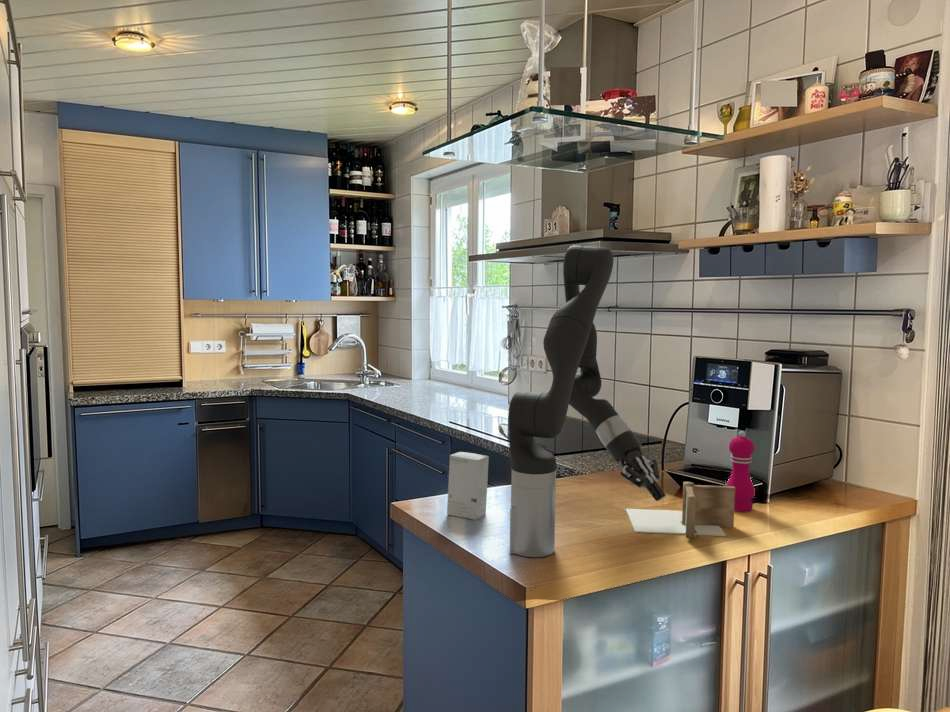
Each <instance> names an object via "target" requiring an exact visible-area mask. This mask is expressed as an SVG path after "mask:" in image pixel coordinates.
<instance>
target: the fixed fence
mask: <svg viewBox="0 0 950 712" xmlns="http://www.w3.org/2000/svg"><path fill="white" fill-rule="evenodd" d="M682 484H683V485H682V508H681V509H682V510H681V511H682V524H685V520H686V486H692V488H693V493H694V496H696V503H695V524H699V525H719V527H720V528H734V527H735V526H734V523H735V511H734V503H735V487H734V486H726V485H706V484H705V485H702V484H695V483H694V482H692V481H683V482H682ZM685 525H686V524H685Z"/></svg>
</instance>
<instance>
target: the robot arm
mask: <svg viewBox="0 0 950 712" xmlns="http://www.w3.org/2000/svg"><path fill="white" fill-rule="evenodd" d="M613 268H614V254H613V252H612V251H611V250H610V248H607V247H602V246H590V245H574V244H573V245H570V246H569V247H568V248H567V250H566V252H565V254H564V258H563V267H562V270H563V271H562V272H563V273H562V274H563V275H562V276H563V287H564V288H563V289H564V296H565V297H564V299H565V303H564V304H563V305H561V307H559V308H558V309H557V310H556V311H555V312H554V313H553V315H552V317H551V318H550V320H549V323H548V326H547V329H546V330H545V331H546V332H545V335H544V338H543V341H542V342H543V343H542V344H543V350H544V353H545V355H546V356H545V357H546V358H547V362H548V364H549V366H550V369H551V374H552V383H551V387H550V389H549V391H548V392H539V391H530V390H529V391H528V390H527V391H525V390H520V391H517V392H516V393H514V394H513V396H512V397H511V399H510V403H509V407H508V438H509V439H508V442H509V444H508V445H509V457H510V462H511V470H510V471H511V473H510V475H511V476H510V477H511V478H510V479H511V481H510V482H511V483H510V484H511V486H510V508H509V509H510V510H509V512H510V513H509V514H510V515H509V554H510V555H511V554H512V555H517V556H522V557H527V558H542V557H548V556H551V555H553V554H554V553H555V544H556V533H555V531H556V483H557V482H556V481H557V458H556V456H555V454H553V453H551V452H549V451H548V450H546V449H544V448H543V447H542V446H540V445H539V444H538V443H537V442H536V441H535V439H534V438H541V439H555V438H557V437H558V436H559V435H560V434H561V431H562V429H563V428H564V424H565V421H566V417H567V413H568V411H569V406H570V407H571V408H573V409H574V410H575V411H576V412H578V414H580V415H581V416H582V417H584V418H585V419H586V420H587V421H588V422H589V424H590V426H591V428H592V429H593V430H594V431H595V433H596V435H597V436H598V438H599V440H600V442H601V443H602V444H603V446H604V448H605V449H606V450H607V453H609V455H610V456H611V458H613V459H612V460H613V461H615V462H616V463H619V464H621V466H622V467H623V469H622V470H621V471H620V475H621V476H622V477H623V478H625V479H626V480H628V481H630V482H631V484H634V485H635V486H637V487H638V488H640V489H641V488H642V487H643V488H644V489H646V490H647V491H648V493H649V495H651V497H652V498H653V499H654V500H655V501H656V502H659V501H661V500H663V499H664V498H665V497H666V493H665V492H664V491H663V489H662V488H661V486H660V485H659V483H658V480H659V479H660V478H661V476H660V473H659V467H658V461H657V460H656V459H655V458H654V459H653V458H652V460H650V459H648V457H647V456H646V454H645V453H643V452H642V450H641V449H642V443H641V441H640V440H639V439H638V437H637V436H636V435H635V434H634V432H633V431H632V429H631V428H630V427H629V425H628V423H626V422H625V420H624V419H623V418H622V417H621V416H620V414H618V412H617V410H616V409H615V408H614V407H613V405H612V404H611V403H610V402H609V400H607V399H605V398H603V399H602V398H599V399H598V398H594V397H596V396H598V394H599V393H600V391H601V389H602V385H603V384H602V378H601V374H600V373H601V372H600V369H599V365H598V360H597V353H598V352H597V351H598V350H597V349H598V348H597V347H598V334H597V330H596V326H595V323H594V320H595V317H596V313H597V310H598V307H599V305H600V302H601V300H602V297H603V296H604V293H605V291H606V289H607V286H608V284H609V281H610V279H611V276H612V273H613ZM581 285H582V286H584V288H583V289H582V290H581V291H580V286H581ZM579 369H580V372H578V371H579Z"/></svg>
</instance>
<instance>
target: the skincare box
mask: <svg viewBox="0 0 950 712" xmlns="http://www.w3.org/2000/svg"><path fill="white" fill-rule="evenodd" d="M489 458H490V456H489V455H484V454H478V453H473V452H468V451H466V452H465V451H458V452H455V453H452V454H450V455H449V468H448V469H449V470H448V483H447V485H448V488H447V507H446V515H447V516H450V515H451V516H452V517H458V518H464V519H469V520H472V521H473V520H474V521H476V520H479V519H480V518H482V517H483V516H485V515H486V514H487V500H488V499H487V498H488V497H487V495H488V478H489V477H488V476H489V460H490V459H489ZM451 516H450V517H451Z"/></svg>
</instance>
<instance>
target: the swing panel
mask: <svg viewBox="0 0 950 712" xmlns="http://www.w3.org/2000/svg"><path fill="white" fill-rule="evenodd" d="M695 503H696V496H694V493H693V488H692V486H686V520H685V524H686V535H685V538H686V539H689V540H693V539H695V535H694V531H695Z"/></svg>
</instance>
